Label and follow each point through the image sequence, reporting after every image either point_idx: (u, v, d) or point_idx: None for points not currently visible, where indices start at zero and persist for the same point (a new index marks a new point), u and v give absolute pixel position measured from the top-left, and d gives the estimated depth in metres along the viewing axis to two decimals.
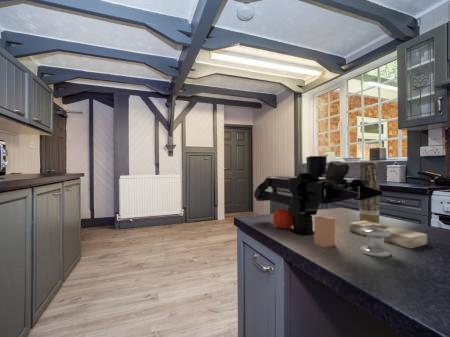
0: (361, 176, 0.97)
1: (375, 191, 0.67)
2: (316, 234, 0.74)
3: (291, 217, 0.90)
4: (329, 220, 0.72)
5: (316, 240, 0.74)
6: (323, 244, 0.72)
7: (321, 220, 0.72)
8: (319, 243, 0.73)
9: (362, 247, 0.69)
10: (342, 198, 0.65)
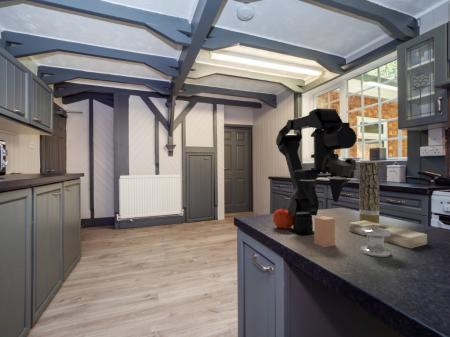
0: (361, 176, 0.97)
1: (335, 196, 0.75)
2: (316, 234, 0.74)
3: (291, 217, 0.90)
4: (329, 220, 0.72)
5: (316, 240, 0.74)
6: (323, 244, 0.72)
7: (321, 220, 0.72)
8: (319, 243, 0.73)
9: (362, 247, 0.69)
10: (306, 191, 0.73)
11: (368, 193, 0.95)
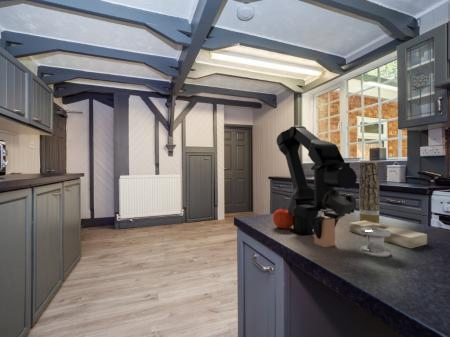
0: (361, 176, 0.97)
1: None
2: None
3: (291, 217, 0.90)
4: (329, 220, 0.72)
5: (316, 240, 0.74)
6: (323, 244, 0.72)
7: None
8: (319, 243, 0.73)
9: (362, 247, 0.69)
10: (312, 226, 0.74)
11: (368, 193, 0.95)
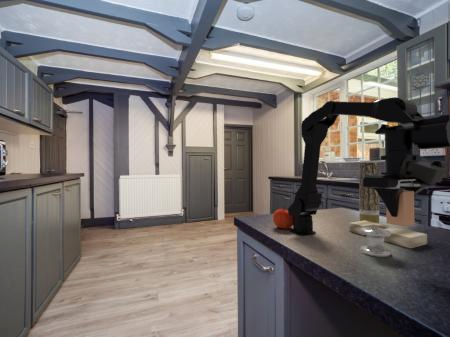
0: (361, 176, 0.97)
1: None
2: None
3: (291, 217, 0.90)
4: (408, 193, 0.58)
5: (389, 219, 0.60)
6: (401, 223, 0.57)
7: None
8: (394, 222, 0.59)
9: (362, 247, 0.69)
10: (385, 201, 0.59)
11: (368, 193, 0.95)
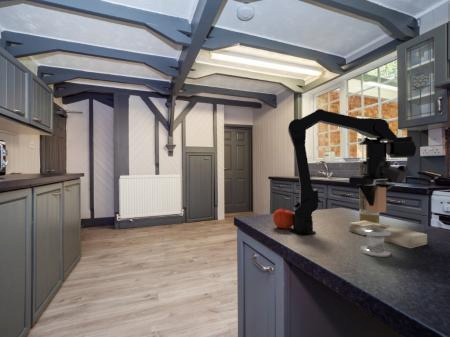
0: None
1: None
2: None
3: (291, 217, 0.90)
4: (381, 188, 0.80)
5: (368, 207, 0.82)
6: (376, 210, 0.79)
7: None
8: (372, 210, 0.81)
9: (362, 247, 0.69)
10: (365, 194, 0.81)
11: None
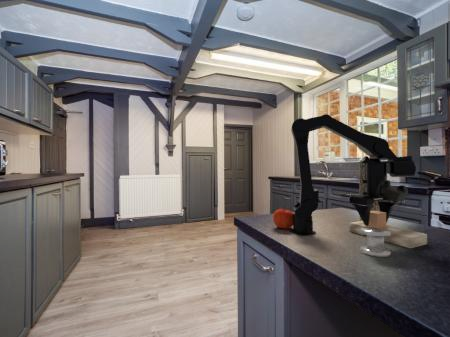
0: (361, 176, 0.97)
1: None
2: None
3: (291, 217, 0.90)
4: (381, 214, 0.80)
5: None
6: None
7: (374, 214, 0.80)
8: None
9: (362, 247, 0.69)
10: (360, 214, 0.81)
11: None
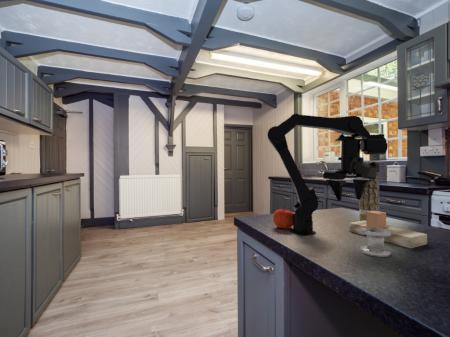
0: None
1: (358, 194, 0.86)
2: None
3: (291, 217, 0.90)
4: (381, 214, 0.80)
5: None
6: None
7: (374, 214, 0.80)
8: None
9: (362, 247, 0.69)
10: (333, 190, 0.83)
11: (368, 193, 0.95)
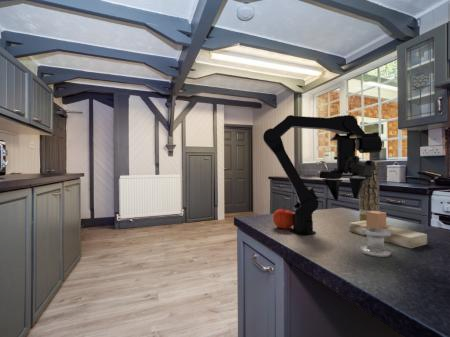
0: None
1: (355, 193, 0.86)
2: None
3: (291, 217, 0.90)
4: (381, 214, 0.80)
5: None
6: None
7: (374, 214, 0.80)
8: None
9: (362, 247, 0.69)
10: (330, 189, 0.83)
11: (368, 193, 0.95)
